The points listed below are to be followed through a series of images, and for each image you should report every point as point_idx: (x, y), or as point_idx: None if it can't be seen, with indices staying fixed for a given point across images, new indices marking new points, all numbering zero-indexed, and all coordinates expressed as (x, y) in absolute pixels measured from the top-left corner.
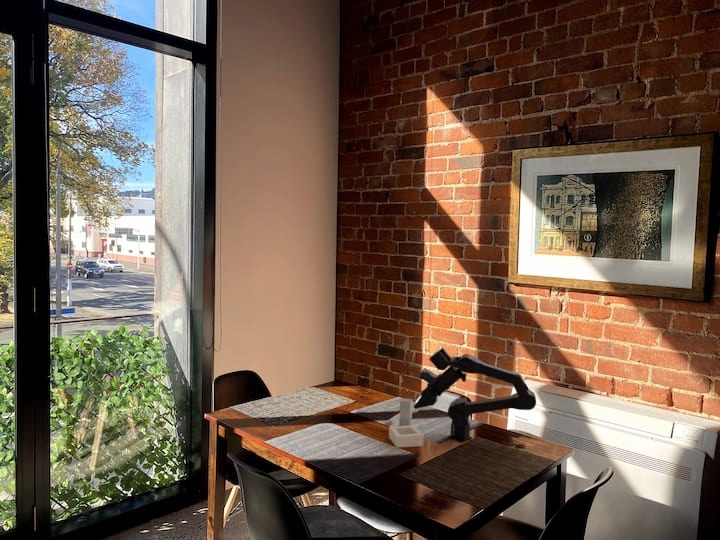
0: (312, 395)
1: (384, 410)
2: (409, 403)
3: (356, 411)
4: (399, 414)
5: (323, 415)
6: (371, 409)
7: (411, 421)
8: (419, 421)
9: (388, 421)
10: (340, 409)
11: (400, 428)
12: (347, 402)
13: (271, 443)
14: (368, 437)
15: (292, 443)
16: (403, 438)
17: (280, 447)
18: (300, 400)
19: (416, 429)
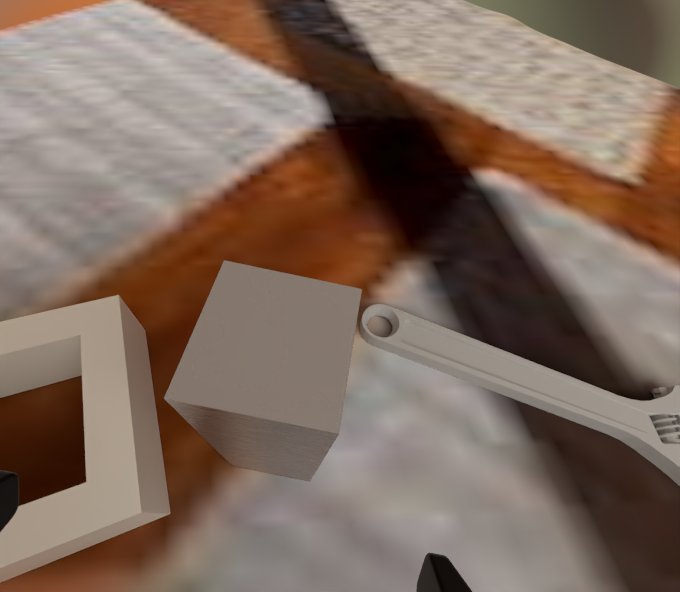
0: (584, 79)
1: (588, 296)
2: (174, 390)
3: (500, 187)
4: (542, 376)
5: (400, 99)
6: (563, 240)
7: (299, 471)
8: (510, 543)
9: (393, 316)
10: (493, 140)
11: (83, 378)
12: (589, 159)
13: (106, 5)
14: (148, 233)
15: (99, 37)
16: None
17: (65, 17)
18: (516, 57)
19: (8, 541)
